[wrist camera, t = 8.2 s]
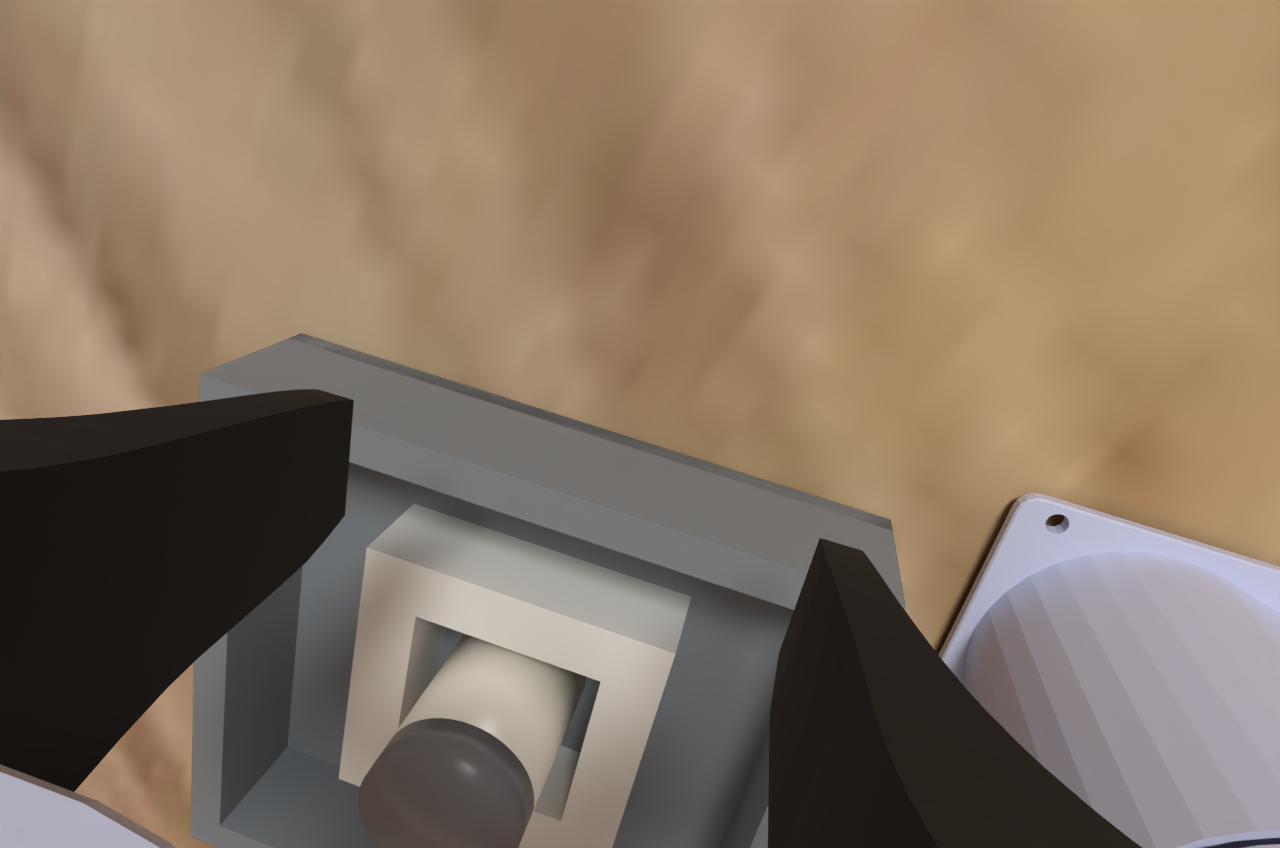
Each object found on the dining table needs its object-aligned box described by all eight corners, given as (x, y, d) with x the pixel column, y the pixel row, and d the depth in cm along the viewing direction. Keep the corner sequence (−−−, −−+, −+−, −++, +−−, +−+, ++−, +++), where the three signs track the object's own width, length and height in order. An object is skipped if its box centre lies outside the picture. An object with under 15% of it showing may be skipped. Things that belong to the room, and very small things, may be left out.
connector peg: (612, 667, 23) (549, 832, 18) (538, 739, 25) (459, 911, 19) (507, 583, 23) (411, 724, 18) (438, 661, 25) (330, 813, 19)
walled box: (890, 519, 21) (905, 605, 17) (720, 916, 27) (705, 1041, 23) (301, 333, 22) (199, 373, 19) (271, 745, 29) (190, 837, 25)
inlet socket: (691, 596, 22) (675, 654, 20) (622, 807, 25) (602, 878, 23) (414, 503, 23) (366, 547, 20) (382, 719, 26) (338, 778, 24)
